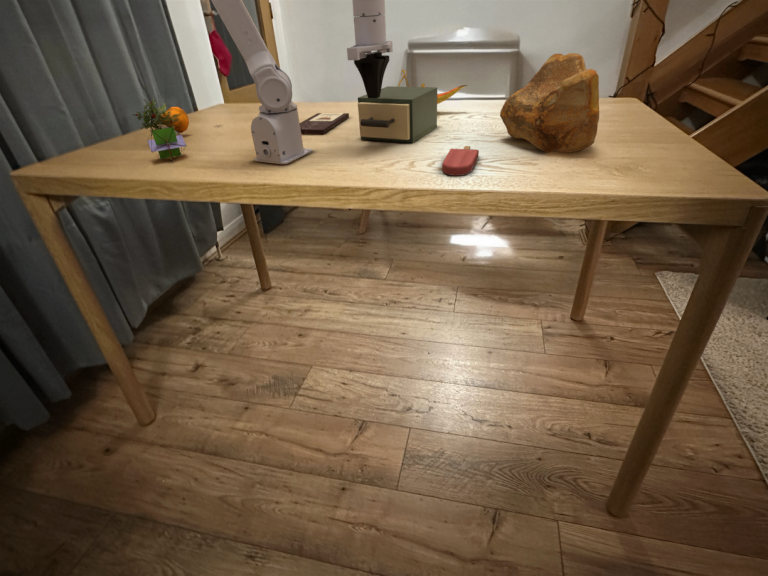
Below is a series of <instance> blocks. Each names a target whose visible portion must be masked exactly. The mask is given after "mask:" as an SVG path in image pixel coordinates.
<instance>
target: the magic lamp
mask: <svg viewBox="0 0 768 576" xmlns="http://www.w3.org/2000/svg"><path fill="white" fill-rule="evenodd" d="M400 75H401V77H402V78H401V79H400V80H399V82H398V85H397V87H400V85H401V83H402V81H403V80H404V81H405V84H406V87H410V84H409V82H408V77H407V75H408V70H406V69H401V72H400ZM468 86H469V85H468V84H462V85H459V86H457V87H454V88H452V89H449V90H448V91H445V92H440V93H437V105H439V104H441V103H443V102H445V101H447V100H448V99H450V98H451V97H453V96H454V95H455V94H457V93H458V92H459V91H460V90H462V89H463V88H465V87H468ZM420 87H426V85H425V83H421V85H420Z"/></svg>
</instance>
